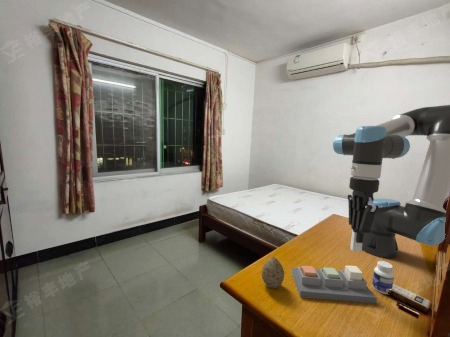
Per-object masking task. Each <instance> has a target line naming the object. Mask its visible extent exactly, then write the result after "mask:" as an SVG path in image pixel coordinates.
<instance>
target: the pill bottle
mask: <svg viewBox="0 0 450 337" xmlns="http://www.w3.org/2000/svg"><path fill="white" fill-rule="evenodd" d="M393 269H394V267H393V265H392V264H391V263H390V262H387V261H384V260H378V261H377V264H376V266H375V267H374V269H373V273H372V274H373V275H372V276H373V277H372V283H371V287H372V288H373V289H374V290H375V291H376V292H378V293H380V294H383V295H389V294H388V292H389V289H392V290H393V285H394V279H395V274H394V272H393Z"/></svg>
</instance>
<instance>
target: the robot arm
mask: <svg viewBox="0 0 450 337" xmlns="http://www.w3.org/2000/svg"><path fill="white" fill-rule="evenodd" d="M408 136H426V140H428V142H429V145H428V147H427V152H426V155H425V158H424V161H423V164H422V167H421V170H420V171H421V172H420V174H419V176H418V181H417V184H416V185H415V186H416V187H415V189H414V193H413V196H412V199H410V200H409V201H406V202H405V205H404V206H402V205H401V202H400V201H399V200H396V199H388V198H374V194H375V193H378V192H379V188H380V180H379V179H380V178H381V174H382V164H383V159H392V160H393V159H398V158H403V157H404V156H406V155H407V154H408V152H409V151H410V149H411V143H410V141H409V139H408V138H407V137H408ZM332 148H333V152H334V153H335V154H338V155H344V156H352V161H351V166H350V169H351V171H350V176H351V177H350V178H349V186H348V187H349V189H350V190H352V194H347V201H348V225H350V227H351V229H352V230H351V239H350V246H349V247H350V248H349V249H350V250H351V252H357V253H358V252H359V253H360V252H361V253H362V251H364V252H366V253H368V254H370V255H373V256H376V257H381V258H385V259H387V258H388V259H391V258H392V259H394V258H397V257H398V256H399V246H398V242H397V239H396V235H398V236H402V237H405V238H407V239H410V240H412V241H415V242H416V243H419V244H424V245H426V246H430V247H431V246H432V247H434V246H435V247H436V246H438V245H439V244H442V243H443V242H444V241H445V239H446V238H445V235H446V234H445V222H446V217H447V214H446V212H447V210H445V208H444V207H443V206H444V203H445V200H446V197H447V195H448V194H447V193H448V190H449V188H450V104H447V105H446V104H445V105H436V106H435V105H434V106H425V107H420V108H416V109H412V110H410V111H405V112H404V113H401V114H397V115H395V116H393V117H392V118H391V119H390V120H388V121H386V122H383V123H379V124H377V125H362V126H359V127H357V128H356V130H355V132H353V133H352V134H340V135H337V136H336V137H334V139H333V141H332ZM445 216H446V217H445Z"/></svg>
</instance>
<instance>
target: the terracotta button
mask: <svg viewBox="0 0 450 337" xmlns="http://www.w3.org/2000/svg"><path fill="white" fill-rule="evenodd" d="M301 267H302V273H303V275H304V276H309V277H316V271H315V270H314V268H315V267H314V266H312V265H302V266H301Z"/></svg>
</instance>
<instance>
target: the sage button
mask: <svg viewBox="0 0 450 337" xmlns="http://www.w3.org/2000/svg"><path fill="white" fill-rule="evenodd" d="M322 269H323V273H324V275H325V277H326V278H334V279H339V274H338V273H337V271H338V270H337V269H336V268H334V267H323V268H322Z"/></svg>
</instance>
